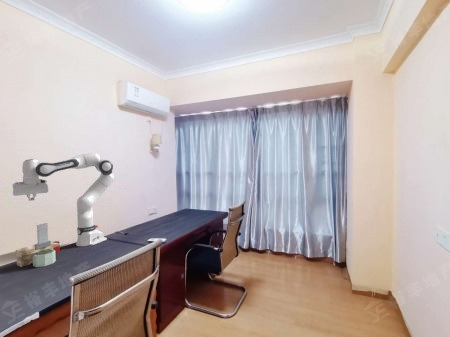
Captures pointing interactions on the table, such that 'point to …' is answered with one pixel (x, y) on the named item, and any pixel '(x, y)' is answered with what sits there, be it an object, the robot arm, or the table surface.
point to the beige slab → (30, 254)
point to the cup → (44, 258)
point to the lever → (56, 247)
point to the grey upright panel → (42, 236)
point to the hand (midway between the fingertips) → (31, 200)
